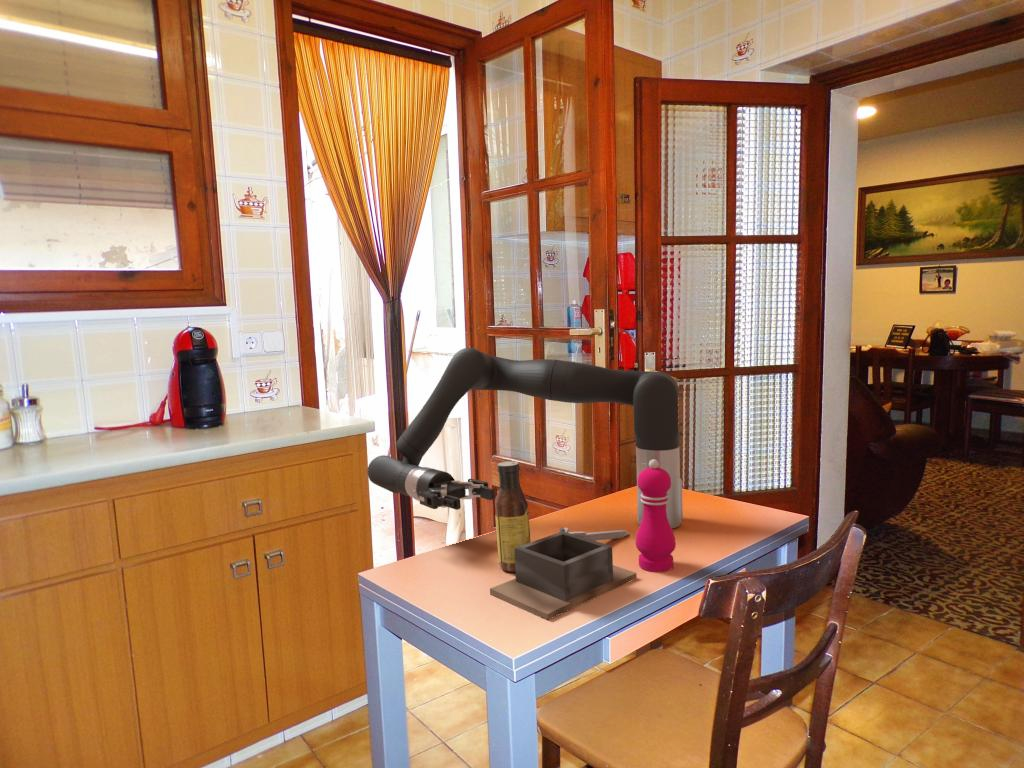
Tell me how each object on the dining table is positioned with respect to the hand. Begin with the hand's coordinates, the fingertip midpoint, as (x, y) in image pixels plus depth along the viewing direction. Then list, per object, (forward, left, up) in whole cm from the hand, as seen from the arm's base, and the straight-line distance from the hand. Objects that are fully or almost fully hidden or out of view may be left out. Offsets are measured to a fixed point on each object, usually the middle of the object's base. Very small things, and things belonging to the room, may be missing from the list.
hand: (476, 499), depth 133 cm
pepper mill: (-18, +30, -11) cm, 36 cm away
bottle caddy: (0, +24, -11) cm, 26 cm away
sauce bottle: (0, +11, -11) cm, 15 cm away
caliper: (-18, +15, -12) cm, 26 cm away
